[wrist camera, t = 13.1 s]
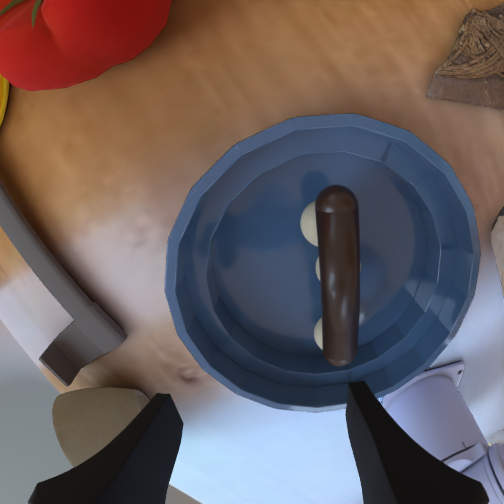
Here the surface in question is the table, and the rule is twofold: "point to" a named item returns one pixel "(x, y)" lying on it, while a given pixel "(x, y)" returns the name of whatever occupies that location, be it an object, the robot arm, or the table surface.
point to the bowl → (305, 256)
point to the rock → (499, 245)
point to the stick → (339, 272)
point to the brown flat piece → (474, 62)
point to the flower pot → (93, 419)
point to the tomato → (73, 38)
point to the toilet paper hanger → (61, 300)
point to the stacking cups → (3, 96)
